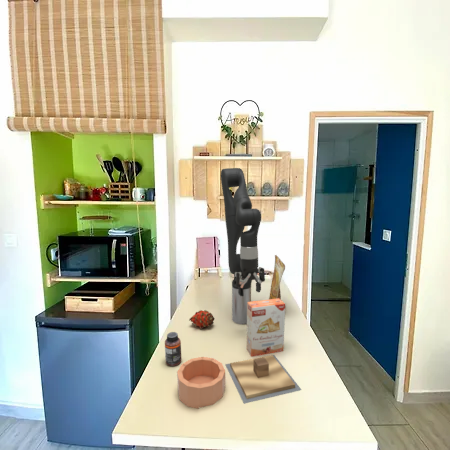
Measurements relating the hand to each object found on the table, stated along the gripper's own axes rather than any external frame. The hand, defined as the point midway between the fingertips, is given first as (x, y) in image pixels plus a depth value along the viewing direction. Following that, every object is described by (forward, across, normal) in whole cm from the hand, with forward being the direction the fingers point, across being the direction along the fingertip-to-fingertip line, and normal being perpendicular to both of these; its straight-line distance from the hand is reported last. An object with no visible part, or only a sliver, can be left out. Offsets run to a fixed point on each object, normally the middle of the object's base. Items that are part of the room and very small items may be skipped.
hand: (249, 293), depth 124 cm
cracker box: (+21, 0, +11) cm, 23 cm away
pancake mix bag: (+20, -27, -16) cm, 37 cm away
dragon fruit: (+20, +14, -20) cm, 31 cm away
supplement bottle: (+20, +35, -1) cm, 40 cm away
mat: (+21, +11, +23) cm, 33 cm away
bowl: (+21, +32, +18) cm, 42 cm away
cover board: (+21, +11, +23) cm, 33 cm away
